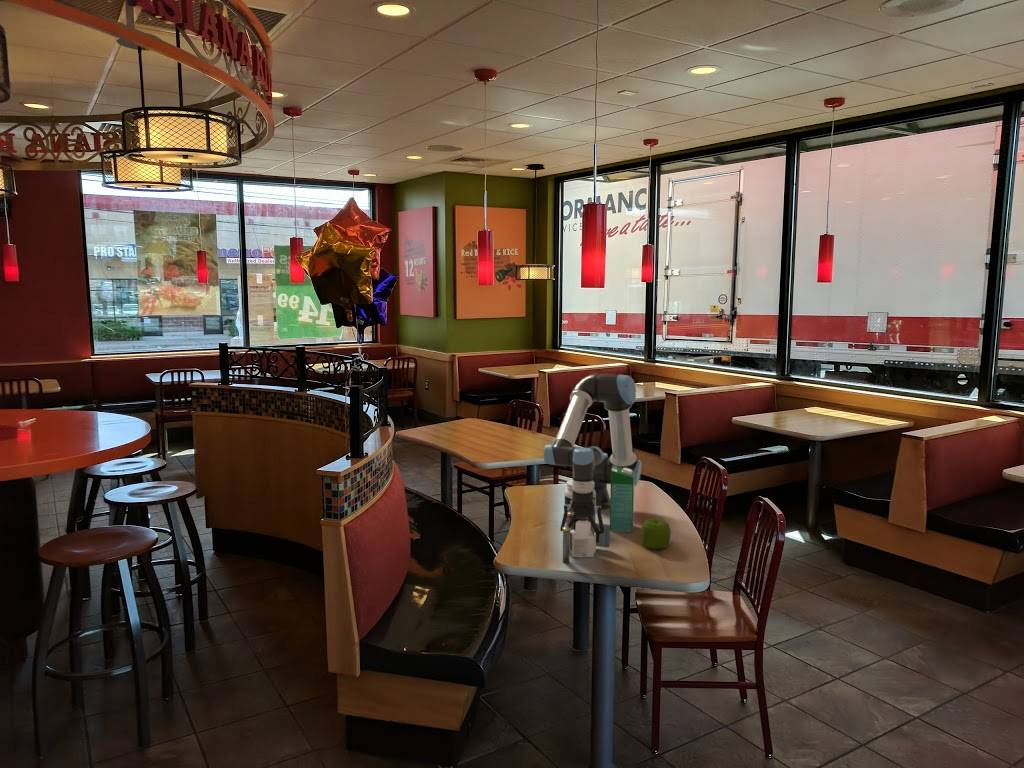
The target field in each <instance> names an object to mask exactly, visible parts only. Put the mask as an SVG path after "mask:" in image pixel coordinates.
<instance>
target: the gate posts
mask: <svg viewBox="0 0 1024 768" xmlns="http://www.w3.org/2000/svg"><path fill="white" fill-rule="evenodd" d="M573 514H574V512H568V513H567V526H568V524H569V522H570V520H571V518H572V516H573ZM567 526H566V525H565V526H564V527H562V530H563V531H562V563H563V564H570V553H571V551H569V548H570V531H571V530H574V529H573V528H574V522H573V524H572V526H571V528H570V527H567Z"/></svg>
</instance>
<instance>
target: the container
mask: <svg viewBox="0 0 1024 768" xmlns="http://www.w3.org/2000/svg"><path fill="white" fill-rule="evenodd" d="M591 527H592V525H591V523H590V520H589V519H587V518H577V519H575V520H574V529H573V530H571V549H570V553H571V556H572V557H573V558H594V555H595V552H594V536H593V534H592V532H591Z"/></svg>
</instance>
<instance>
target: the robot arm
mask: <svg viewBox="0 0 1024 768" xmlns="http://www.w3.org/2000/svg"><path fill="white" fill-rule="evenodd" d="M636 392H637V388H636V383H635V381H634V379H633V377H631V376H630V375H626V374H625V375H624V374H611V373H610V374H609V373H591V374H589V375H587V376H585V377H583V378H582V379H581V380H579V381H578V382H577V384H576V385H575V386H574V388H572V390H571V393H570V395H569V400H570V401H569V403H568V407H567V409H566V412H565V414H564V417H563V419H562V421H561V423H560V427H559V429H558V432H557V433H556V437H555V439H554V441H553V444H551V443H550V444H546V445H545V446H544V449H543V455H542V456H543V461H544V463H545V464H548V465H553V466H563V467H565V466H566V467H572V479H573V490H574V491H573V492H572V504H569V505H567V504H565V503H564V505H563V515H562V521H561V525H560V527H559V530H560V532H563V530H562V527H565V526H566V525H565V522H566V518H567V513H568V511H569V510H570V508H572V509H573V511H574V514H573V516H572V518H571V520H570V522H569V524H568V526H567V527H570V528H571V526H572V524H573V522H574V520H575V519H576V517H577V515H578V516H587V517H588V519H589V520H590V523H591V525H592V527H593V529H594V531H595V533H594V553H596V552H597V551H596V550H597V546H596V543H599V535H600V534H601V533H602V534H603V533H604V525H603V524H604V521H603V516H602V510H605V509H607V508H610V493H609V490H608V485H611V469H612V465H614V466H617V467H620V468H628V469H631V470H632V471H634V472H635V476H634V487H636V486H637V485H638V483H639V481H640V477H641V473H642V464H643V463H642V461H641V460H640V459H637V455H636V453H634V452H633V442H632V429H631V419H630V417H631V416H630V409H631V408H632V405H633V404H634V403H635V402H636V397H637V394H636ZM593 402H598V403H603V407H604V409H605V410H606V411H608V419H609V420H608V421H609V430H610V440H611V441H610V442H611V449H612V450H611V451H612V454H611V455H610V456H608V453H606V452H603V450H602V449H601V448H600V447H598V446H588V447H577V446H574V445H575V442H576V440H577V438H578V435H579V432H580V430H581V427H582V425H583V422H584V420H585V416H586V414H587V411H588V408H590V407H591V406H592V405H593ZM593 482H594V486H595V487H594V489H595V491H596V506H595V505H594V504H593V491H592V490H593ZM593 509H595V511H596V515H597V516H596V517H597V519H598V520H597V521H598V524H599V526H600V529H598V527H597V525H596V523H595V522H596V521H594V518H593V516H592V514H591V511H592V510H593ZM570 549H571V531H570V548H569V551H570ZM570 552H571V551H570Z"/></svg>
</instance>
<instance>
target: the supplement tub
mask: <svg viewBox="0 0 1024 768" xmlns="http://www.w3.org/2000/svg"><path fill="white" fill-rule="evenodd" d="M594 487H595V486H594V482H593V490H592V491H593V504H594V505H595V506H596V491H595V489H594ZM573 491H574V490H573V478H572V479H568V480H567V482H566V488H565V491H564V505H565V504H567V505H569V504H572V492H573ZM568 512H574V511H573V509H572V508H570V510H569V511H568ZM591 514H592V516H593V518H594V521H595V523H596V519H597V516H596V515H597V512H596V511H595V509H593V510H592V511H591ZM577 518H587V519H588V517H587V516H578V515H577V517H576V519H577ZM565 526H567V518H566V522H565ZM573 530H574V528H573Z"/></svg>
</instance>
